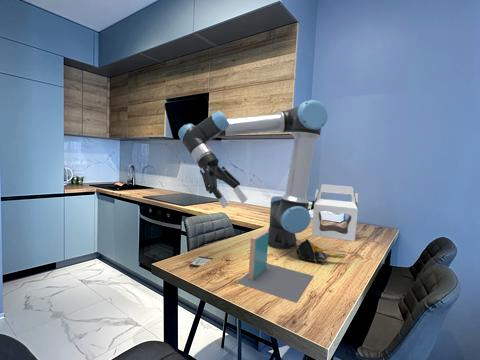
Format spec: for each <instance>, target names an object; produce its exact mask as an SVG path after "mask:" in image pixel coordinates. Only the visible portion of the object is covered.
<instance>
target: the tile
mask: <svg viewBox="0 0 480 360" xmlns="http://www.w3.org/2000/svg"><path fill="white" fill-rule="evenodd" d="M268 235H269V231H268V230H263V231H261V232H259V233H257V234H256V235H254V236H252V237H251V238H250V245H249V247H250V248H249V261H248V262H249V266H248V273H249V280H254V279H255V278H256V277H257V276H259V275H260V274H261V273H262V272H263V271H264V270H265V269H266V267H267V263H268V247H269V245H268Z"/></svg>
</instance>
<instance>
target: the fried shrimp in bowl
mask: <svg viewBox="0 0 480 360" xmlns="http://www.w3.org/2000/svg"><path fill="white" fill-rule="evenodd" d="M326 251H328V250H327V249H323V248H321V247H319V246H316V245H315V244H314V242H311V241H310V240H309V239H305V240H304V241H303V242H301V243H300V244H299V245H298V247H297V248H296V251H295V253H296V255H297V257H298V259H302V260H305V261H314V262H315V263H318V264H319V263H324V261H326V260H328V258H334V259H345V258H346V255H345V254H344V253H330V252H328V253H327V252H326Z"/></svg>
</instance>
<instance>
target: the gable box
mask: <svg viewBox="0 0 480 360" xmlns="http://www.w3.org/2000/svg"><path fill="white" fill-rule="evenodd" d="M324 193H329V194H340V195H348V196H351V201H347V200H346V201H345V200H336V199H325V198H322V197H321V196H322V194H324ZM314 199H315V201H314V203H313V212H312V213H313V214H312V215H313V216H312V227H311V236H315V237H322V238H328V239H335V240H342V241H349V242H356V236H357V235H356V234H357V225H358V224H357V223H358V215H359V213H358V211H359V207H358V203H359V193H358V192H355V191H354V187H353V186H351V185H340V184H338V185H337V184H327V183H326V184H325V183H322V184H321V185H320V188H319V189H318V188H316V190H315V195H314ZM321 212H330V213H333V214H338V215H341V214H342V215H345V214H346V215H349V216H348V217H347V219H346V226H345V227H340V226H339V225H335V224H326V225H325V224H322V219H323V217H322V214H321Z"/></svg>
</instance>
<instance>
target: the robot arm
mask: <svg viewBox="0 0 480 360" xmlns="http://www.w3.org/2000/svg"><path fill="white" fill-rule="evenodd" d="M328 115H329V113H328V110H327V107H326V106H325V105H324V104H323V103H322V102H320V101H319V100H316V99H315V100H314V99H310V100H306V101H303V102H302V103H301V104H299V105H297V106H295V107H293V108H290V109H287V110H282V111H281V110H280V111H279V112H278V113H275V114H274V113H273V114H264V115H263V114H261V115H253V116H243V117H242V116H241V117H232V118H227V117H226V116H225V114H224V113H223V112H222V111H221V110H217V111H216V112H214V113H212V114H210V116H208V117H206V118H205V119H204V120H203V121H201V122H200V123H198V124H196V125H194V124H193V123H186V124H183V126H182V127H180V129H179V130H178V137H179V139H180V141H181V142H182V144H183V145H184V147H185V148H186V150H187V151H188V153H189V155H191V156H192V158H193V160H194V161H195V163H196V164H197V166H198V167H199V169H200V170H199V173H200V175H201V176H202V180H203V184H204V187H205V190H206V192H208V193H209V194H210V195H212V194H213V195H214V197H215V198H216V199H217V201H218V203H219V204H220V206H221V207H222V209H225V208H226V207H227V206H228V205H230V201H229V200H228V198H227V197H226V195H225V194H224V192H223V191H222V189H221V188H220V187H218V182H217V181H218V180H219V181H223V182H224V183H225V184H226V185H227V186H229V187H230V188H231V189H232V190H233V192H234V194H235V195H236V197H237V198H238V199H239V201H240V202H241V204H244V203H245V202H246V201H247V200H248V199H249V198H248V196H247V195H246V194H245V192H244V191H243V190H242V188H241V186H240V185H241V182H240V181H239V180H238V179H237V178H236V177H235V176H233V174H231V172H229V171H228V169H226V167H225V166H222V167H220V166H219V159H218V157H217V156H216V154H215V153H214V152H213V150H212V149H211V147H210V146H209V144H208V143H207V142H209V141H211V140H212V139H216V138H221V137H230V136H238V135H248V134H258V133H260V134H261V133H268V132H280V133H291V135H292V136H293V138H294V139H293V144H292V150H291V156H290V162H289V163H290V165H289V169H288V177H287V182H286V189H285V193H284V194H283V196H281V195H279V196H277V195H276V196H272V197H271V200H270V208H269V209H270V212H269V227H268V230H267V231H269V235H268V247H271V248H275V249H280V250H282V249H286V250H287V249H294V248H296V247H297V242H298V240H297V235H296V234H299V233H302V232H304V231H305V230H306V229H308V227H309V225H310V224H311V214H310V212H309V204H310V201H309V199H307V192H308V187H309V181H310V175H311V168H312V162H313V157H314V150H315V144H316V140H318V139H319V138H320V136H321V133H322V132H321V131H322V128H323V127H324V126H325V125H326V123H327V121H328V118H329V116H328Z"/></svg>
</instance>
